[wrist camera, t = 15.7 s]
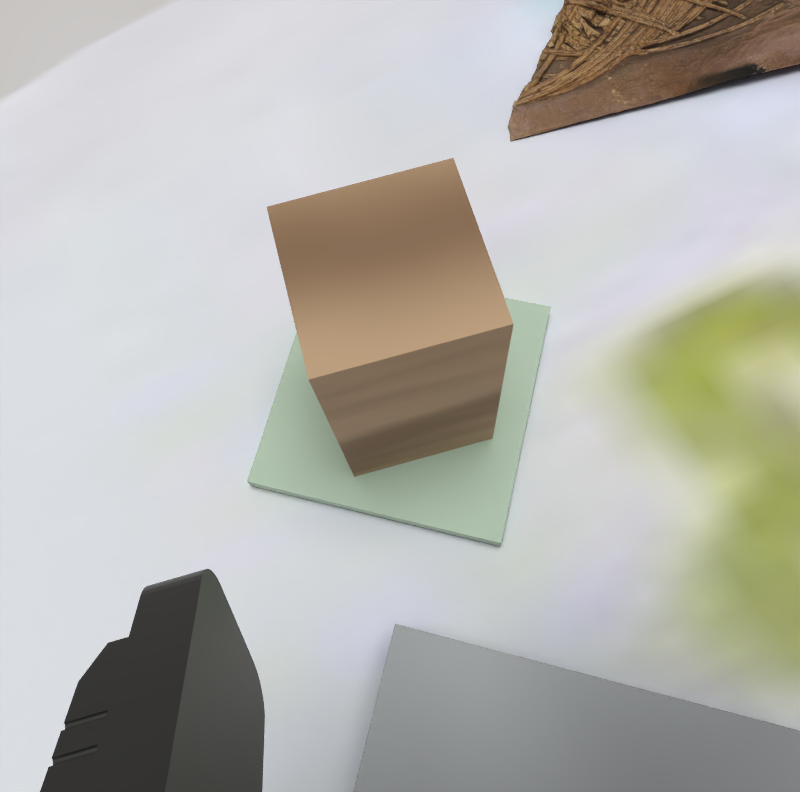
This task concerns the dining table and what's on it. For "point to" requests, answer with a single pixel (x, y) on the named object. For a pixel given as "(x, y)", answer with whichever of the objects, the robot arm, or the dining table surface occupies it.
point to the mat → (416, 480)
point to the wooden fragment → (650, 55)
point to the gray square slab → (553, 730)
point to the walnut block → (396, 314)
